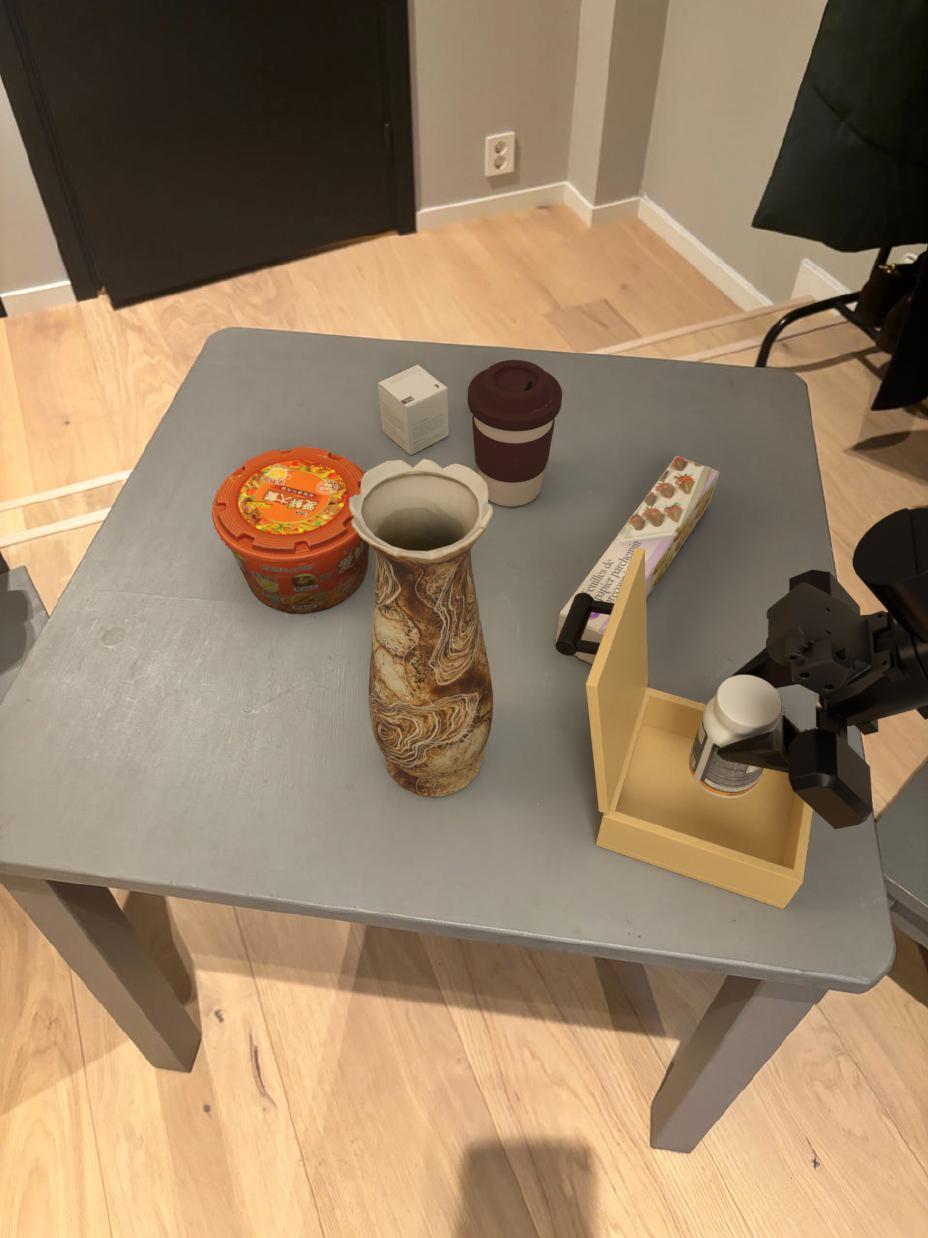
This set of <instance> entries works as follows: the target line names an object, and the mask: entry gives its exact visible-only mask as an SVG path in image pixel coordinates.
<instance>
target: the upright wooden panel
mask: <svg viewBox="0 0 928 1238" xmlns="http://www.w3.org/2000/svg"><path fill="white" fill-rule="evenodd" d="M591 612H593V613H600V614H606V615H610V618H609V621H608V623H607V626H606V629H605V632H604V635H603V637H602V640H601V643H598V642H592V641H586V640H581V639H582V636H583V634H584V631H585V628H586V626H587V623H588V620H589V618H590V615H591ZM647 619H648V618H647V599H646V577H645V549H643V548H634V551H633V554H632V557H631V559H630V562H629V565H628V568H627V570H626V573H625V576H624V579H623V582H622V584H621V587H620V590H619V593H618V596H617V598H616V601H615V603H610V602H604V601H597V600H594V599H593V597H592V596H590V595H589V594H586V593H578V594H576V595H575V597H574V599H573V602H572V604H571V607H570V609H569V612H568V614H567V617H566V619H565V622H564V624H563V627H562V629H561V632H560V634H559V637H558V639H557V642H556V641H555V642H556V645H555V644H554V646H555V650H556V651H557V652H558V653H559V654H561V655H564V656H568V657H572V656H575V655H574V654H575V653H576V652H581V653H587V654H592V655H596V657H595V660H594V662H593V665H592V664H591V665H592V666H591V667H590V671H589V674H588V676H587V679H586V682H585V690H586V698H587V699H586V700H587V709H588V719H589V720H588V721H589V728H590V729H589V730H590V739H591V749H592V759H593V767H594V777H595V778H594V779H595V786H596V796H597V806H598V812H600V813H602V814H604V813H607V814H608V813H609V810H610V807H611V804H612V800H613V797H614V794H615V790H616V787H617V784H618V781H619V777H620V774H621V771H622V767H623V764H624V761H625V758H626V754H627V751H628V748H629V744H630V741H631V738H632V735H633V731H634V728H635V725H636V721H637V718H638V715H639V712H640V708H641V705H642V702H643V698H644V695H645V692H646V689H647V687H648V685H649V669H648V666H649V665H648V661H649V660H648V628H647V625H648V624H647V622H648V621H647Z"/></svg>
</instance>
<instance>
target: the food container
mask: <svg viewBox="0 0 928 1238" xmlns="http://www.w3.org/2000/svg"><path fill="white" fill-rule="evenodd" d="M365 473H366V472H365V471H364V470H363V469H361V467H360V466H359V465H357V464H356V463H355V462H353V461H352V460H350V459H349V458H348V457H346V456H341V455H340V454H336V453H334V452H330V450H328V449H323V448H319V447H309V446H293V447H291V448H290V449H285V450H283V449H280V450H279V449H274V450H270V451H266V452H264V453H260V454H258V455H256V456H254V457H252V458H250V459H248V460H246V461H245V462H244V463H243V464H242V466H240V467H239V468H237V469H236V470H235V471H233V472H231V473H229V475H228V476H227V477H226V478H225V479H224V481H223V482H222V483H221V485H220V486H219V488H218V489H217V491H216V493H215V496H214V499H213V502H212V508H211V517H212V522H213V526H214V529H215V531H216V533H217V534H218V536H219V539H220V541H222V542H223V543H224V545H225V546H226V547H227V549H228V550H230V551H231V553H232V555H233V558H234V559H235V561H236V563H237V566H238V567H239V569H240V571H241V574H242V575H243V577H244V579H245V581H246V583H247V585H248V587H249V590H250V591H251V592H252V594H253V595H254V597H255V598H256V599H257V600H258V601H260V603H262V604H263V605H265V606H267V607H269V608H271V609H274V610H275V611H280V612H282V613H287V614H290V615H291V614H292V615H295V614H296V615H297V614H298V615H306V614H313V613H319V612H323V611H326V610H328V609H331V608H334V607H336V606H338V605H340V604H342V603H343V602H345V601H346V600H347V599H349V598H350V597H351V596H352V595H353V594H354V593H355V592H356V591H357V590H358V589H359V588H360V587H361V585H362V583H363V582H364V580H365V577H366V575H367V571H368V565H369V546H370V545H369V544H368V543H367V542H366V541H365V540H363V539H362V538H361V537H360V536H359V535H358V534H357V533H356V531H355V530H354V528H353V527H352V525H351V521H352V519H353V518H354V517H353V515H352V513H351V511H350V509H349V498H350V497H352V496H354V495H359V494H360V487H361V479H362V477H363V475H364V474H365Z"/></svg>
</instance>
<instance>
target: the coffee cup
mask: <svg viewBox="0 0 928 1238" xmlns="http://www.w3.org/2000/svg"><path fill="white" fill-rule="evenodd" d="M562 403H563V389H562V386H561V385H560V383H559V381H558V380H557V378H556V377H554V376H553V375H552V374H551V373H549V372H547V371H546V370H544V368H542V367H540V366H539V364H536V363H533V362H531V361H527V360H524V359H523V360H522V359H521V360H520V359H508V360H507V359H506V360H501V361H499V362H496V363H494V364H492V365H490V366H489V367H488V368H486V369H483V370H481V371H480V372H478V373H477V374H476V375H475V376H474V377H472V380H471V381H470V382H469V385H468V387H467V406H468V410H469V412H470V413H471V415H472V418H471V423H472V436H473V437H472V439H473V453H474V460H475V461H474V462H475V464H476V466H477V473H478V474H480V475H481V476H482V478H483V479H484V480H485V481H486V483H487V484H488V487H489V492H490V494H489V498H488V502H490V503H493V504H495V505H498V506H502V507H506V508H507V507H509V508H510V507H512V508H515V507H521V506H524V505H527V504H529V503H531V502H532V501H534V500H535V499H536V498H537V497H538V496H539V494H540V492H541V490H542V485H543V480H544V473H545V470H546V468H547V466H548V463H549V459H550V458H549V457H550V453H551V447H552V442H553V441H552V440H553V436H554V430H555V424H556V422H555V419H556V417H557V416H558V415H559V413H560V411H561V408H562Z"/></svg>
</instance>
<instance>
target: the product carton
mask: <svg viewBox="0 0 928 1238" xmlns="http://www.w3.org/2000/svg"><path fill="white" fill-rule="evenodd" d="M377 390H378V399H379V409H380V418H381V419H380V420H381V430H382V432H383V433H384V434H385V435H386V436H387V437H388V438H390V439H391V440H392V441H393V442H394V443H395V444H397V445H398V446H399V447H400V448H401V449H402V450H403V451H405V453H407V454H408V455H409V456H412V455H415V454H416V453H419V452H420V451H422V450H424V449H426V448H428V447H430V446H431V445H433V444H435V443H438V442H440V441H441V440H443V439H445V438H447V437H449V436H450V430H449V427H450V426H449V388H448V386H447V385H445V384H443V383H442V382H441V381H440V380H438V379H437V378H436V377H434V376H433V375H431V374H430V373H429V372H428V371H427V370H426V369H424V368H423V367H422V366H420V365H419V364H416V365H414V366H412V367H410V368H407V369H405V370H402V371H401V372H399V373H396V374H394V375H391V376H390V377H388V378H385V379H383V380H381V381H379V382H377Z"/></svg>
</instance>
